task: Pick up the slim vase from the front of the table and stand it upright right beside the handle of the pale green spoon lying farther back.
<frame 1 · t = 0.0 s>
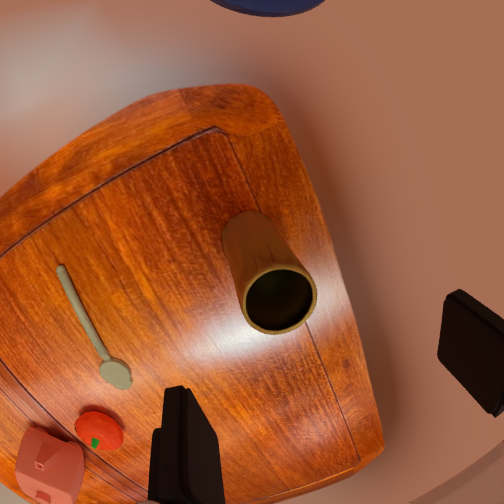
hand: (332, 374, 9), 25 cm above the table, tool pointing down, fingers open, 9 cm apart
vase: (249, 238, 34), on the table
spoon: (83, 311, 33), on the table
teapot: (58, 445, 41), on the table
pumpkin: (103, 418, 40), on the table
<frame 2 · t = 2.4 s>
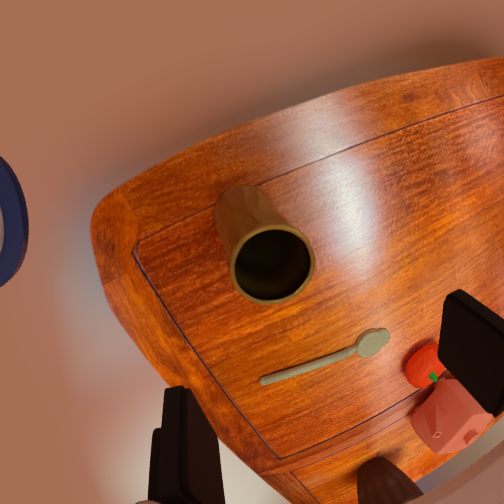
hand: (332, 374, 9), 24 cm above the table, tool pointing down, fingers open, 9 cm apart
flower pot: (370, 465, 55), on the table
vase: (243, 214, 32), on the table
spoon: (305, 364, 40), on the table
teapot: (436, 396, 50), on the table
pumpkin: (417, 355, 44), on the table
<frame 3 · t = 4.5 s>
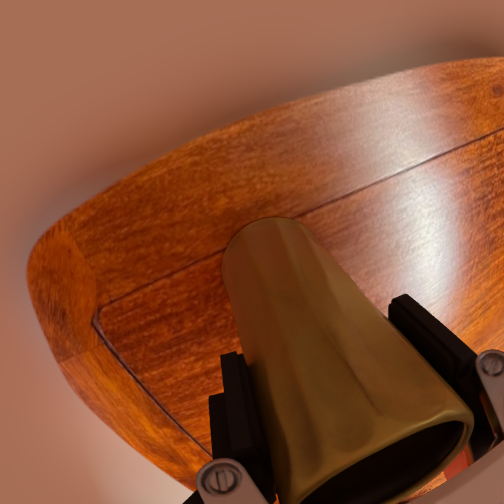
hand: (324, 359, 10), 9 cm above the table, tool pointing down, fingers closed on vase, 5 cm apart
vase: (271, 265, 19), on the table, touching gripper
teapot: (471, 440, 37), on the table
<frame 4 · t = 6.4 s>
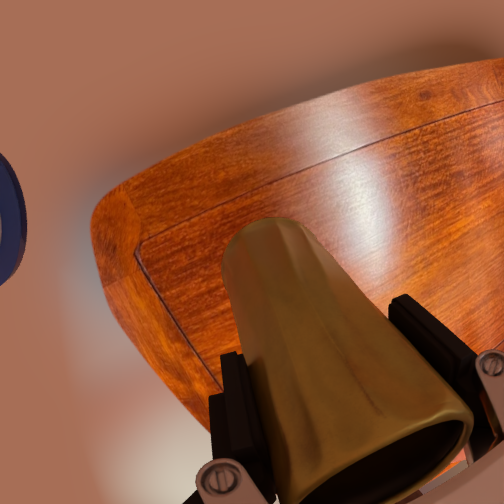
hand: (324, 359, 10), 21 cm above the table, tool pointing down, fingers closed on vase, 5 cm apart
flower pot: (375, 472, 53), on the table
vase: (271, 264, 19), point 12 cm above the table, touching gripper
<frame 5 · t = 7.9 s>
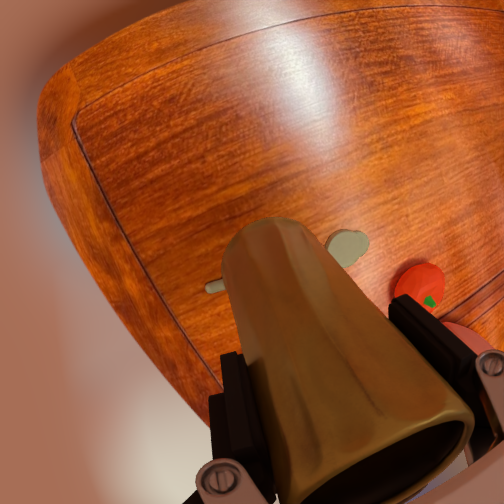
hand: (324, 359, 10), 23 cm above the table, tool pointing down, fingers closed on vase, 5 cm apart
vase: (271, 264, 19), point 14 cm above the table, touching gripper
spoon: (263, 270, 34), on the table
teapot: (436, 349, 44), on the table
pumpkin: (408, 282, 38), on the table
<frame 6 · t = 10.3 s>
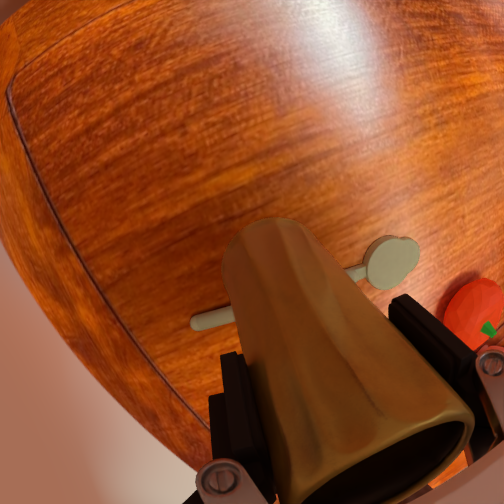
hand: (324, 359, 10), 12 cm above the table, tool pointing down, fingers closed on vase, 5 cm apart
flower pot: (381, 474, 39), on the table
vase: (271, 265, 19), point 3 cm above the table, touching gripper
spoon: (274, 296, 23), on the table
pumpkin: (457, 301, 27), on the table
when the fingers open (9 cm above the table, at t = 11.6 s): vase stays where it is, on the table.
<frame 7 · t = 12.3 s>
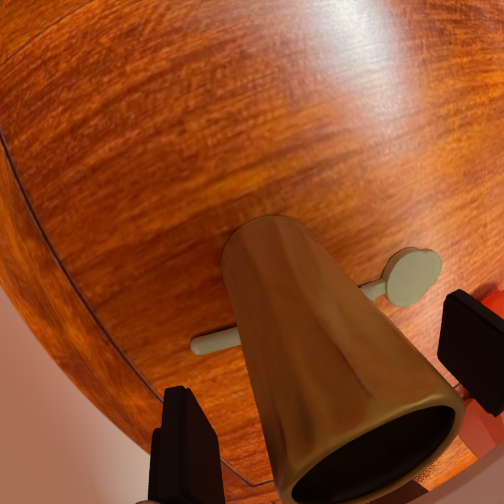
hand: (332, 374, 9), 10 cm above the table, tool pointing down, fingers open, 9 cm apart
flower pot: (388, 486, 36), on the table
vase: (270, 262, 19), on the table
spoon: (285, 316, 20), on the table
teapot: (486, 386, 30), on the table
pumpkin: (475, 314, 24), on the table
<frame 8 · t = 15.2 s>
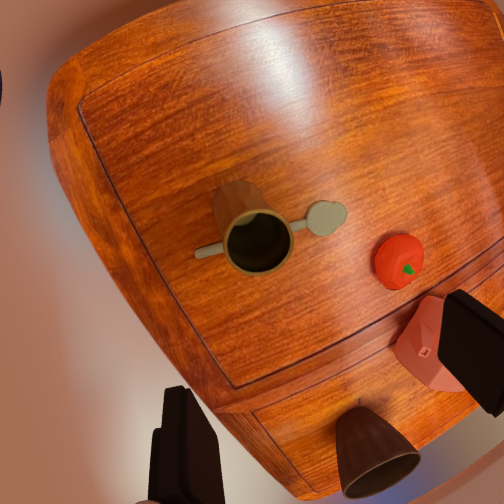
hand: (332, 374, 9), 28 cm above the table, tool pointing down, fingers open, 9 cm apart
flower pot: (352, 418, 53), on the table
vase: (238, 205, 36), on the table
spoon: (247, 238, 37), on the table
teapot: (423, 324, 47), on the table
pumpkin: (389, 254, 41), on the table
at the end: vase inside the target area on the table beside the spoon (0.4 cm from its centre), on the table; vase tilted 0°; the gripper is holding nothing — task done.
